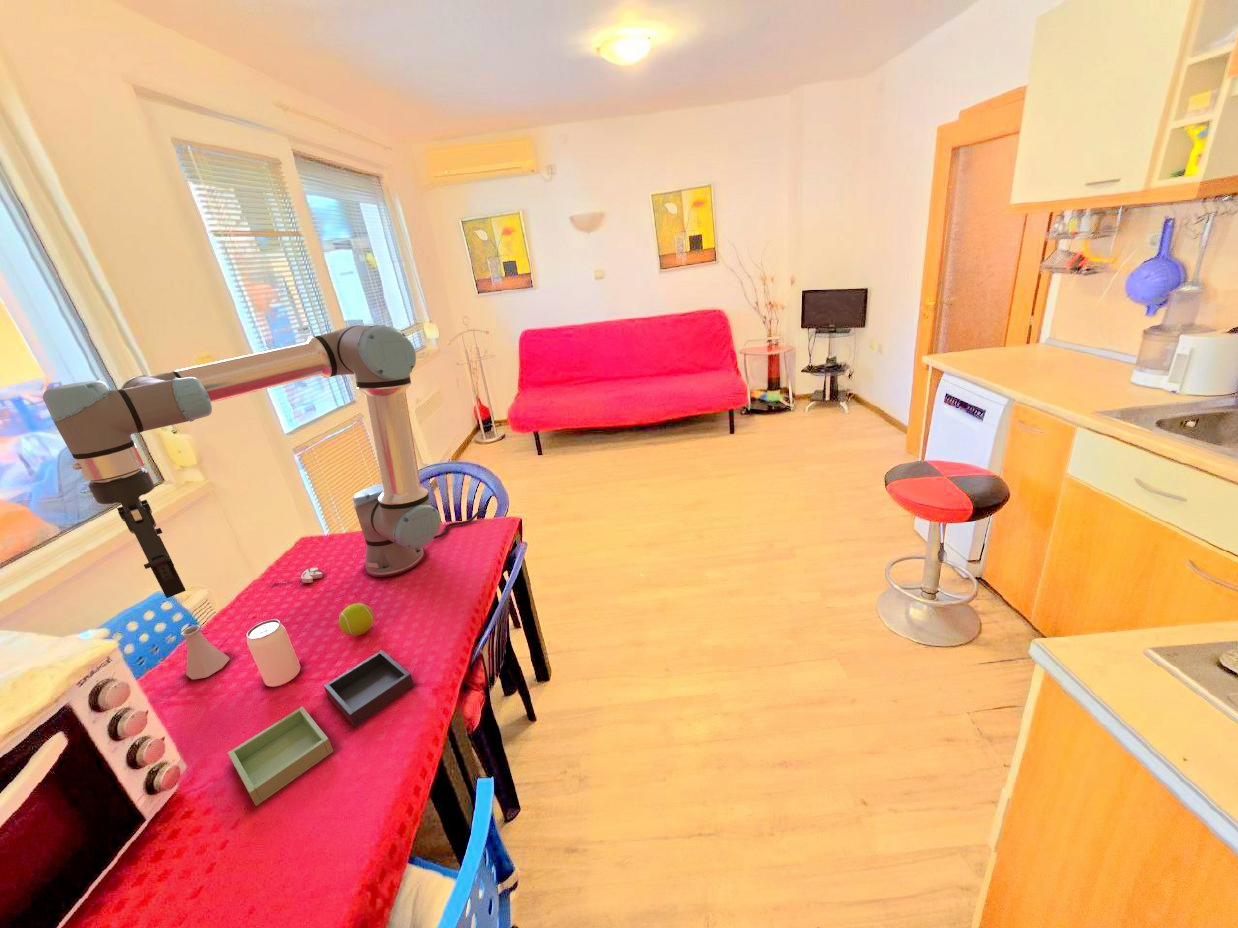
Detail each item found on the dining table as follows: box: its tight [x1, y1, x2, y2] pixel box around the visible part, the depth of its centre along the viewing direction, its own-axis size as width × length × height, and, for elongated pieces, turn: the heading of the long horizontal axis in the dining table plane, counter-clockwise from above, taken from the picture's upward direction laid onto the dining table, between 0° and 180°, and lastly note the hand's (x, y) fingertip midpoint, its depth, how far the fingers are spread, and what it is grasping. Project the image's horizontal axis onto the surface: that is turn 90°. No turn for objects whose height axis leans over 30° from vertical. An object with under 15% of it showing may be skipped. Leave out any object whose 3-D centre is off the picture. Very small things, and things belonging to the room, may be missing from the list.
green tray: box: [227, 706, 334, 807], centre depth 84 cm, size 12×12×3 cm
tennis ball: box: [338, 602, 375, 637], centre depth 113 cm, size 7×7×7 cm
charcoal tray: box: [323, 649, 415, 728], centre depth 97 cm, size 12×12×3 cm
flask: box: [180, 624, 231, 680], centre depth 106 cm, size 7×7×10 cm
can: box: [246, 619, 302, 688], centre depth 101 cm, size 6×6×12 cm
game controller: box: [277, 567, 323, 584], centre depth 136 cm, size 6×12×3 cm, turn 121°
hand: (170, 580), depth 93 cm, fingers open, 13 cm apart
